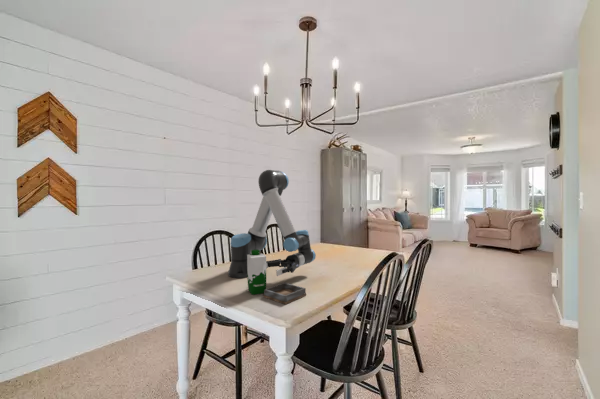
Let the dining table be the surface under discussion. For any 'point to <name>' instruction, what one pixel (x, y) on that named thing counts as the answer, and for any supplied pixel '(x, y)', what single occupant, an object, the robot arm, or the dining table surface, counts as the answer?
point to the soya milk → (256, 272)
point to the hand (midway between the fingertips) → (267, 270)
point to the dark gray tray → (285, 293)
